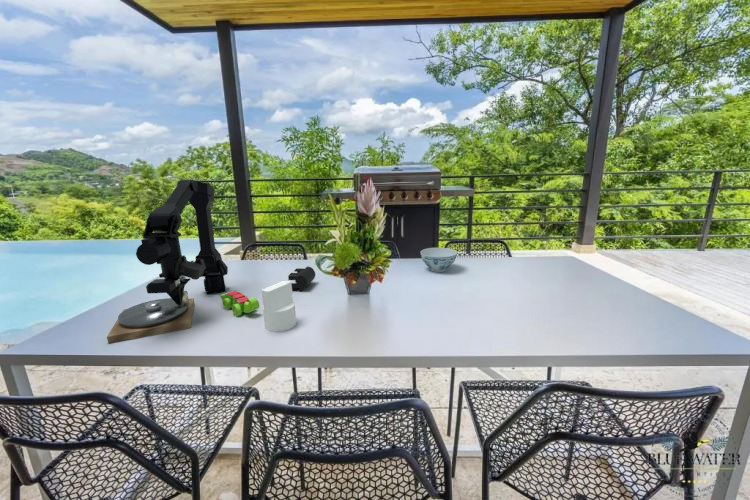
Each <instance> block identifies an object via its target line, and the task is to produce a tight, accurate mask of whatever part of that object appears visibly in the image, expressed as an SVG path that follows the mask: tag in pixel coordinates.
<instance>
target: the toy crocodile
mask: <svg viewBox="0 0 750 500" xmlns="http://www.w3.org/2000/svg"><path fill="white" fill-rule="evenodd" d="M220 298H221V300H222V305H223V308H225V310H227V311H228V310H230V309H232V310H231V311H232V313H233V315H234V316H235V317H239V316H242V313H246V314H249V313H252V312H253V311H256V310H258V309H259V308H260V302H259V300H258V299H257V297H255V296H253V297H250V298H249V297H248V296H246V295H245V294H244V292H241V291H238V290H233V291H228V292H225V293H222V294H220Z"/></svg>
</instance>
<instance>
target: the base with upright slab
mask: <svg viewBox="0 0 750 500" xmlns="http://www.w3.org/2000/svg"><path fill="white" fill-rule="evenodd" d="M291 283H292V281H291V280H282V281H280V282H278V283H275V284H272V285H270V286H267V287H264V288H262V289H261V299H262V315H263V323H264V329H265V330H266V331H268V332H275V333H278V332H284V331H288V330H291V329H292V328H294V327H296V325H297V315H296V303H295V302H294V297H293V291H292V284H291Z"/></svg>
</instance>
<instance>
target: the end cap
mask: <svg viewBox="0 0 750 500" xmlns="http://www.w3.org/2000/svg"><path fill="white" fill-rule="evenodd" d="M287 278H288V280H287V281H294V282H291V284H292V292H302V291H304V290H305V289H307V288H306V287H308V286H309V285H310V284H311V283H312V282H313V280H315V278H316V271H315V270H314V268H313V267H311V266H306V267H305V268H298V267H297V268H295V269H294V272H290V273H289V274H288V275H287Z"/></svg>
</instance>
